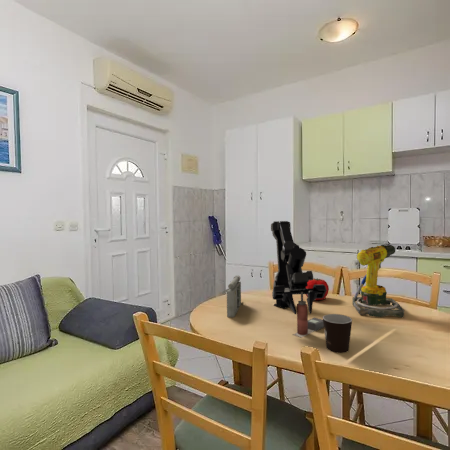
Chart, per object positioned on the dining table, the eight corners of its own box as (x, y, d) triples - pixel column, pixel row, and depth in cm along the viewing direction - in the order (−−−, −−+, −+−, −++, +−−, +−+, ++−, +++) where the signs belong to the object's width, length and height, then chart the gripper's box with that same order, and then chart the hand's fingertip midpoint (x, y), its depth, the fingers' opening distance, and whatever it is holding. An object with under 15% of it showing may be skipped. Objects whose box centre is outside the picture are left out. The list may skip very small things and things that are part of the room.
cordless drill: (409, 318, 124) (409, 248, 123) (358, 316, 128) (357, 248, 127) (394, 304, 142) (394, 243, 141) (350, 303, 146) (349, 244, 145)
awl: (298, 330, 113) (298, 290, 113) (308, 332, 111) (308, 291, 111) (296, 333, 109) (295, 292, 110) (306, 335, 108) (305, 293, 108)
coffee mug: (349, 359, 92) (349, 325, 91) (319, 352, 96) (319, 320, 96) (356, 344, 102) (356, 313, 101) (329, 339, 106) (328, 310, 106)
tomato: (314, 303, 147) (313, 281, 146) (299, 297, 158) (299, 277, 157) (334, 300, 151) (334, 279, 151) (319, 294, 162) (319, 275, 161)
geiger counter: (236, 284, 130) (244, 272, 154) (221, 284, 131) (231, 272, 156) (236, 317, 130) (244, 300, 155) (221, 316, 132) (232, 300, 156)
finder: (314, 323, 119) (314, 317, 119) (324, 326, 116) (324, 319, 116) (305, 327, 115) (305, 321, 115) (316, 331, 112) (315, 324, 112)
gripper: (272, 263, 113) (278, 302, 102) (324, 262, 113) (336, 301, 103) (270, 280, 121) (275, 318, 111) (318, 279, 121) (328, 317, 111)
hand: (303, 313), depth 108 cm, fingers open, 5 cm apart
